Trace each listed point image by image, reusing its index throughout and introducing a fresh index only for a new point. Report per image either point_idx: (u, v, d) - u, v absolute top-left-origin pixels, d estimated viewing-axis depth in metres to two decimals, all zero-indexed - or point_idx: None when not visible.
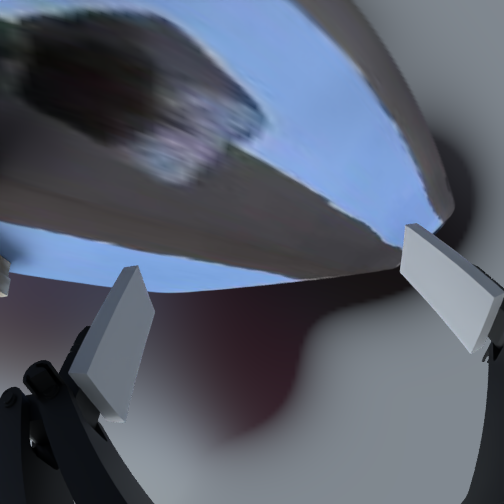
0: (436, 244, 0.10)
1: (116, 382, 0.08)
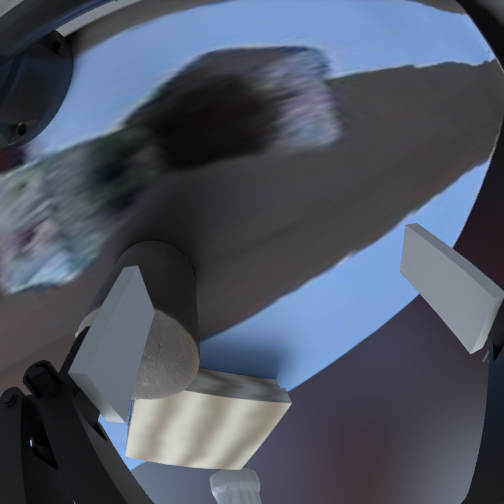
0: (436, 244, 0.10)
1: (116, 382, 0.08)
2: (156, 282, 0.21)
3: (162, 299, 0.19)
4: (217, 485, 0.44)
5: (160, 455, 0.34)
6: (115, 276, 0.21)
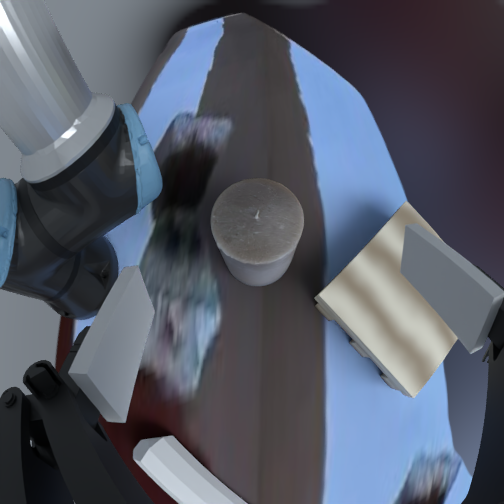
0: (436, 244, 0.10)
1: (116, 382, 0.08)
2: None
3: None
4: None
5: (428, 355, 0.31)
6: None
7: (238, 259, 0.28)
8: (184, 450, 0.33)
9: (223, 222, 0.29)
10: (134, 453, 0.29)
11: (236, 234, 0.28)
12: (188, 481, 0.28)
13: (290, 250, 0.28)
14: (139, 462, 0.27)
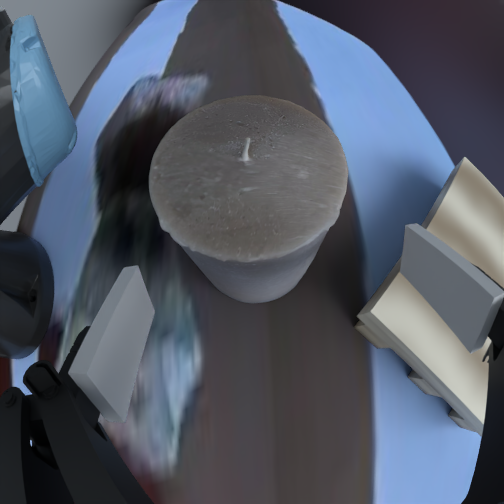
0: (436, 244, 0.10)
1: (116, 382, 0.08)
2: None
3: None
4: None
5: None
6: None
7: (208, 253, 0.12)
8: None
9: (175, 176, 0.13)
10: None
11: (201, 197, 0.12)
12: None
13: (329, 223, 0.12)
14: None
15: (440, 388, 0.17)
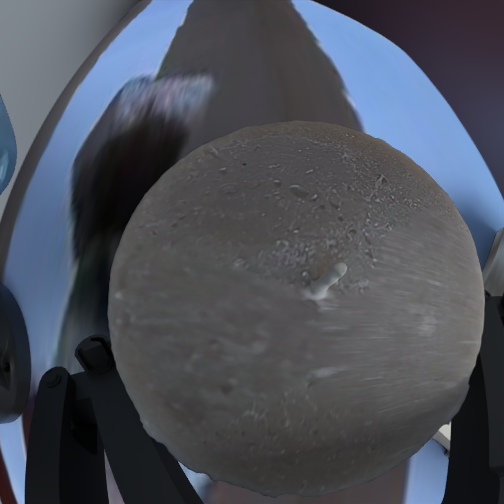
0: None
1: None
2: None
3: None
4: None
5: None
6: None
7: (245, 486, 0.05)
8: None
9: (160, 327, 0.06)
10: None
11: (223, 388, 0.05)
12: None
13: (453, 413, 0.05)
14: None
15: None
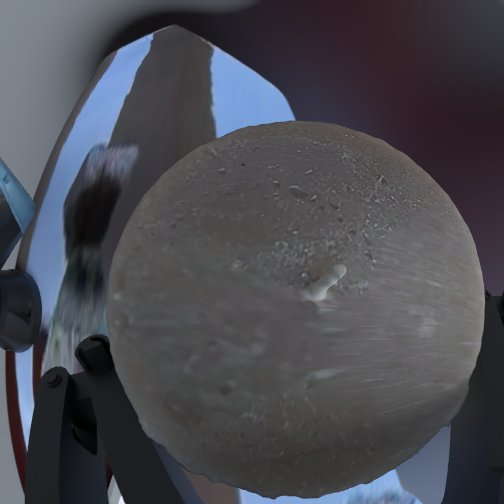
0: None
1: None
2: None
3: None
4: None
5: None
6: None
7: (244, 487, 0.05)
8: None
9: (159, 328, 0.06)
10: None
11: (222, 390, 0.05)
12: None
13: (452, 414, 0.05)
14: None
15: None
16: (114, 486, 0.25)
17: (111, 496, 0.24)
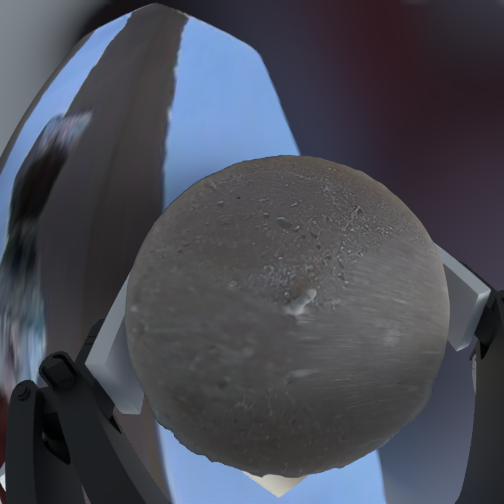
0: None
1: (131, 373, 0.08)
2: None
3: None
4: None
5: None
6: None
7: (237, 466, 0.06)
8: None
9: (169, 335, 0.07)
10: None
11: (220, 384, 0.06)
12: None
13: (416, 413, 0.06)
14: None
15: None
16: None
17: None
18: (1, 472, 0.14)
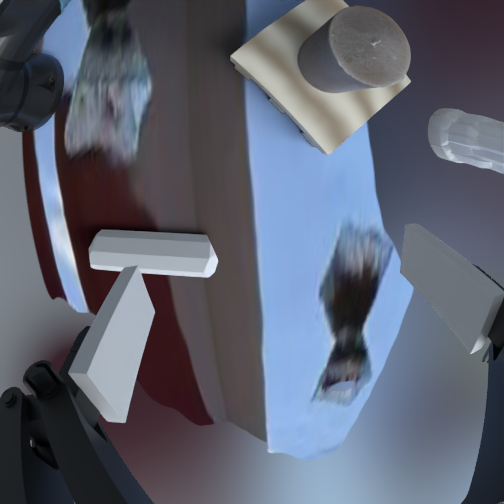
0: (436, 244, 0.10)
1: (116, 382, 0.08)
2: None
3: None
4: (439, 141, 0.40)
5: (342, 118, 0.36)
6: (314, 43, 0.24)
7: (358, 79, 0.22)
8: None
9: (343, 43, 0.20)
10: (212, 258, 0.46)
11: (356, 56, 0.21)
12: None
13: (401, 79, 0.22)
14: (203, 267, 0.45)
15: (278, 103, 0.36)
16: (102, 269, 0.44)
17: (114, 270, 0.45)
18: None
